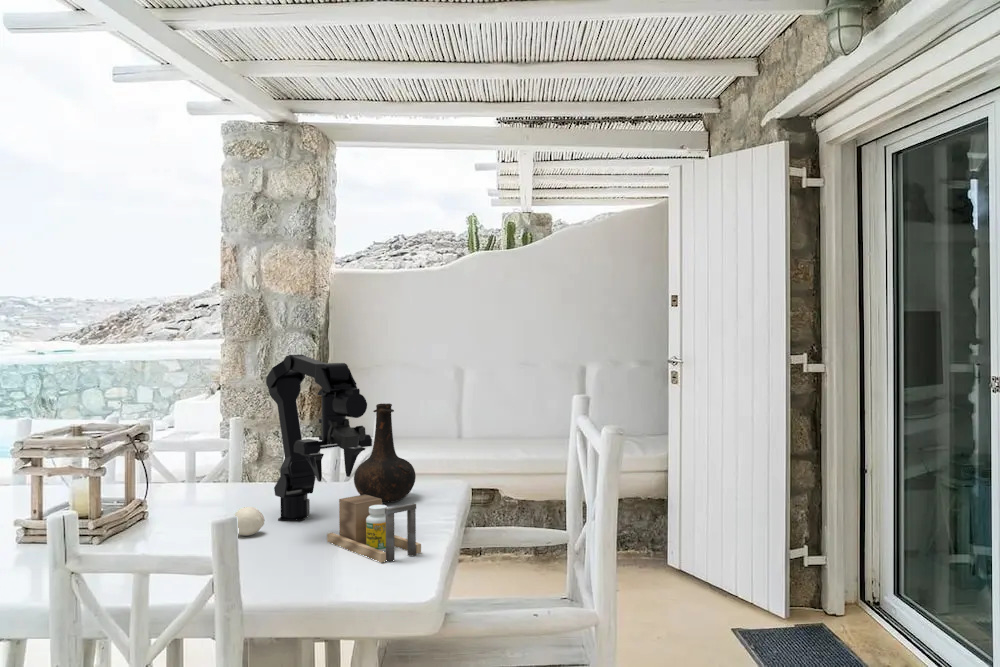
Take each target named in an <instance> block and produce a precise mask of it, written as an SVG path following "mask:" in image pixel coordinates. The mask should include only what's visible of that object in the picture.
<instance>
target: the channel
mask: <svg viewBox="0 0 1000 667" xmlns="http://www.w3.org/2000/svg"><path fill="white" fill-rule="evenodd" d="M416 510H417V503H407V504H402V505H399V506H398V505H397V506H393V507H387V509H385V514H386V551H385V552H383V551H380V550H378V549H375V548H372V547H370V546H367V545H364V544H362V543H359V542H356V541H353V540H351V539H348V538H345V537H343V536H340V534H337V533H334V532H328V533H327V534H326V535H327V536H326V537H327V538H326V540H327V543H328V542H330V543H329V544H331V543H333V544H335V545H334V546H336V545H338V546H341V547H343V548H342V549H344V548H345V549H344V550H346V549H348V550H347V551H349V550H350V551H349V552H351V551H353V552H352V553H354V552H356V553H358V554H357V555H359V554H361V555H364V556H367V557H369V558H372V559H374V560H377V561H379V562H384V561H386V560H387V561H393V560H395V559H396V558H395V546H396V547H397V548H398V547H399V548H398V549H401V548H402V550H404V549H405V551H407V556H408V555H415V556H416V555H417V554H416V553H419V554H421V553H422V543H420V542H417V541H416V540H417V538H416V537H417V535H416V532H417V527H416V525H417V523H416V522H417V521H416V520H417V519H416V517H417V516H416V512H417V511H416ZM402 512H403V513H404V512H406V514H407V515H406V518H407V519H406V520H407V521H406V522H407V523H406V524H407V528H406V529H407V532H406V534H407V535H406V536H407V538H404V537H402V536H399V535H396V534H395V514H397V513H402ZM333 544H332V545H333ZM338 546H337V547H338ZM341 547H340V548H341ZM356 553H355V554H356ZM361 555H360V556H361ZM364 556H363V557H364ZM369 558H368V559H369ZM372 559H371V560H372ZM374 560H373V561H374ZM377 561H376V562H377ZM387 561H386V562H387ZM379 562H378V563H379ZM393 562H394V561H393ZM384 563H385V562H384Z"/></svg>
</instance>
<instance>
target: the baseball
mask: <svg viewBox="0 0 1000 667" xmlns="http://www.w3.org/2000/svg"><path fill="white" fill-rule="evenodd" d="M234 515H235V516H237V517H238V528H239V534H238V535H239V536H244V537H245V536H246V537H249V536H252V535H254V534H257V533H258V532H259V531H260V529H262V528H263V527H264V525H265V522H266V521H265V516H264V514H263V512H261V511H260V510H259V509H257V508H256V507H254V506H246V507H242V508H239V509H238V510H237V511H235V514H234Z"/></svg>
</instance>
